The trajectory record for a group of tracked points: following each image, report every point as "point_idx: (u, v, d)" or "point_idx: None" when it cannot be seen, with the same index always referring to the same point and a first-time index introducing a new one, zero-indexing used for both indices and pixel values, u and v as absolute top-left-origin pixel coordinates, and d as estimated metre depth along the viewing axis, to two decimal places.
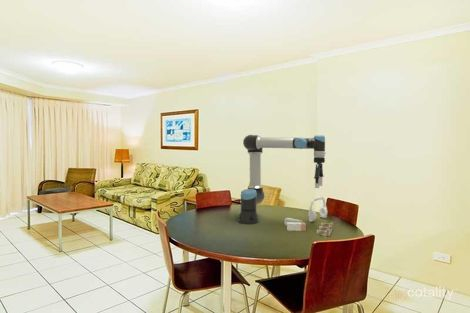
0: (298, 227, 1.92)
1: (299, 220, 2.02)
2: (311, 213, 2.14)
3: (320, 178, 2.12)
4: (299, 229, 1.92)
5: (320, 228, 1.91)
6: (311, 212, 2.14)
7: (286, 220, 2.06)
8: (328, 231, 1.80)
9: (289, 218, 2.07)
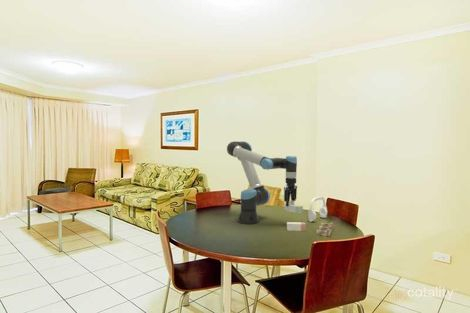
0: (298, 227, 1.92)
1: (299, 206, 2.02)
2: (311, 213, 2.14)
3: (292, 202, 2.08)
4: (299, 229, 1.92)
5: (320, 228, 1.91)
6: (311, 212, 2.14)
7: None
8: (328, 231, 1.80)
9: None
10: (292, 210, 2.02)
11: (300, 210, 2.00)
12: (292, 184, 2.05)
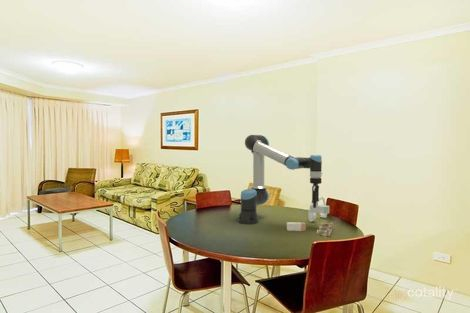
0: (298, 227, 1.92)
1: (326, 206, 1.95)
2: (311, 213, 2.14)
3: None
4: (299, 229, 1.92)
5: (320, 228, 1.91)
6: (311, 212, 2.14)
7: (312, 207, 1.96)
8: (328, 231, 1.80)
9: None
10: (320, 210, 1.94)
11: (328, 210, 1.93)
12: (317, 184, 1.97)
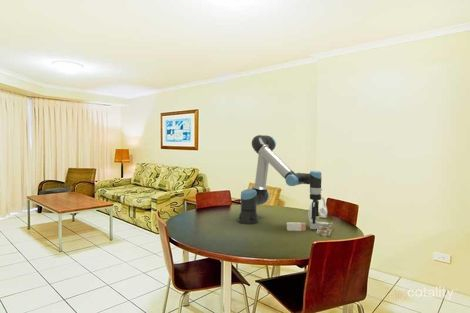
0: (298, 227, 1.92)
1: (326, 223, 1.96)
2: (311, 213, 2.14)
3: (316, 218, 2.01)
4: (299, 229, 1.92)
5: (320, 228, 1.91)
6: (311, 212, 2.14)
7: None
8: (328, 231, 1.80)
9: None
10: None
11: None
12: (317, 201, 1.98)
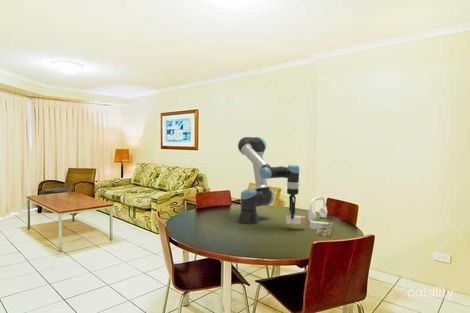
0: (298, 220, 1.93)
1: (326, 223, 1.96)
2: (311, 213, 2.14)
3: None
4: (298, 222, 1.93)
5: (320, 228, 1.91)
6: (311, 212, 2.14)
7: (312, 224, 1.97)
8: (328, 231, 1.80)
9: (314, 221, 1.99)
10: None
11: None
12: None
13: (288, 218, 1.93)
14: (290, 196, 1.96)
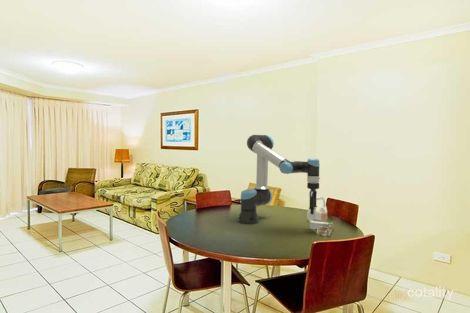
0: (318, 216, 1.85)
1: (326, 223, 1.96)
2: None
3: (313, 209, 1.91)
4: (319, 218, 1.85)
5: (320, 228, 1.91)
6: None
7: (312, 224, 1.97)
8: (328, 231, 1.80)
9: (314, 221, 1.99)
10: None
11: None
12: (315, 189, 1.89)
13: (308, 213, 1.88)
14: None
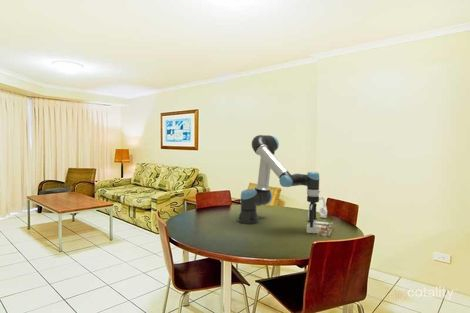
0: None
1: (326, 223, 1.96)
2: None
3: (313, 221, 1.92)
4: None
5: None
6: None
7: None
8: (328, 231, 1.80)
9: None
10: None
11: None
12: (314, 203, 1.89)
13: (308, 227, 1.88)
14: None
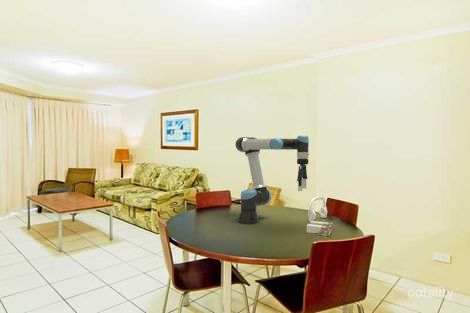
0: None
1: (326, 223, 1.96)
2: (310, 213, 2.14)
3: (304, 180, 2.02)
4: None
5: None
6: (310, 212, 2.14)
7: None
8: (328, 231, 1.80)
9: (314, 221, 1.99)
10: None
11: None
12: None
13: (308, 227, 1.88)
14: None
